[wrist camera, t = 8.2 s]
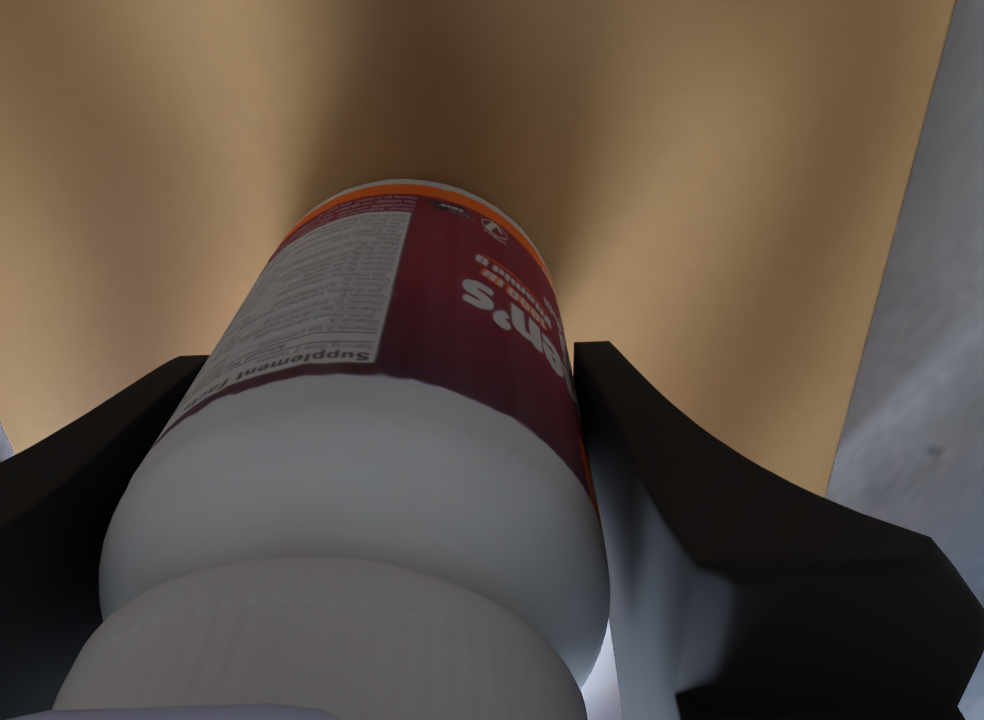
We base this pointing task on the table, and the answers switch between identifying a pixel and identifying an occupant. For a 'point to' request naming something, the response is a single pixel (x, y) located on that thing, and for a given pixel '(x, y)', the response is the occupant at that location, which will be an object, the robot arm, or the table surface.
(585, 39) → the oak board
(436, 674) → the pill bottle
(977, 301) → the table surface
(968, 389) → the table surface
